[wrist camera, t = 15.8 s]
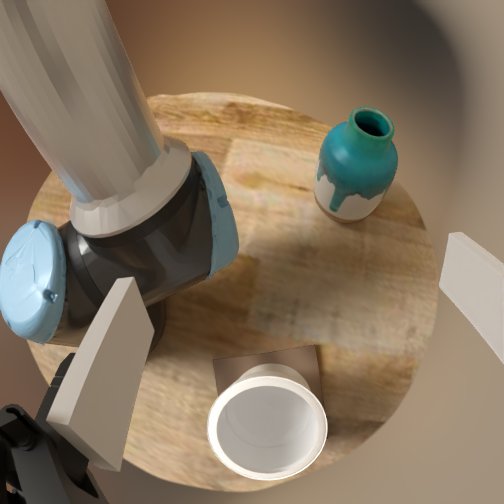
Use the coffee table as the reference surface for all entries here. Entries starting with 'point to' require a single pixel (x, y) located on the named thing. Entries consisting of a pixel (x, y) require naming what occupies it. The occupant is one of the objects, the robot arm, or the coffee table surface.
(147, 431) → the coffee table surface
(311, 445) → the jar
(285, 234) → the coffee table surface
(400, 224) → the coffee table surface
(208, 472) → the coffee table surface
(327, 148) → the vase
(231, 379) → the walnut board
